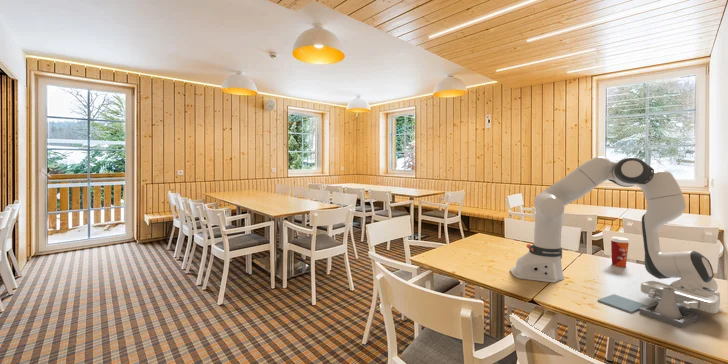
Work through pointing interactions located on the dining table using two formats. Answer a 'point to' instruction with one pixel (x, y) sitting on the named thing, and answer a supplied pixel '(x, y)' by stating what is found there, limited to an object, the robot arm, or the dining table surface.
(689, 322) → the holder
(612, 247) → the paper cup
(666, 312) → the flask
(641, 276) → the dining table surface
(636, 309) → the mat
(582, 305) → the dining table surface
